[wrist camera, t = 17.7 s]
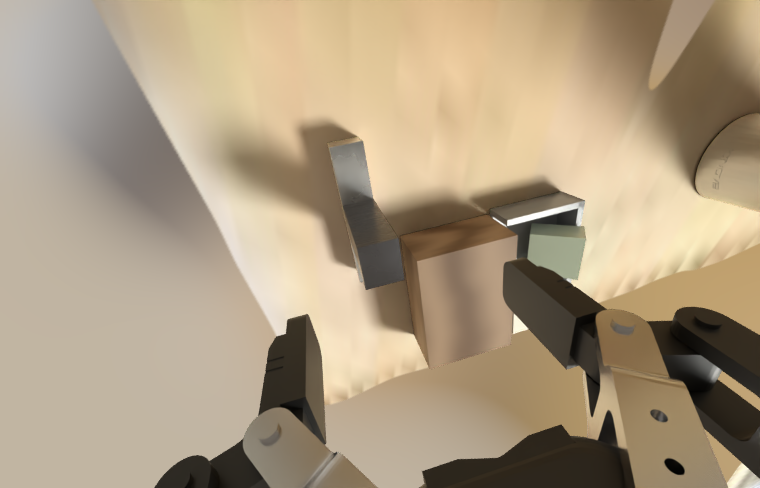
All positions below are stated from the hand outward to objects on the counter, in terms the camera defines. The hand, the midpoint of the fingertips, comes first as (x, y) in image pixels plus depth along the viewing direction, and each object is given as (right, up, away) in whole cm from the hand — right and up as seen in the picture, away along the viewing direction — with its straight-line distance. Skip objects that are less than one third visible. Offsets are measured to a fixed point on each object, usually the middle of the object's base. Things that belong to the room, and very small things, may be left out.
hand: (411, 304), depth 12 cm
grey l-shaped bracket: (-3, +5, +15) cm, 16 cm away
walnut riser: (+6, -1, +21) cm, 21 cm away
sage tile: (+15, +1, +17) cm, 23 cm away
